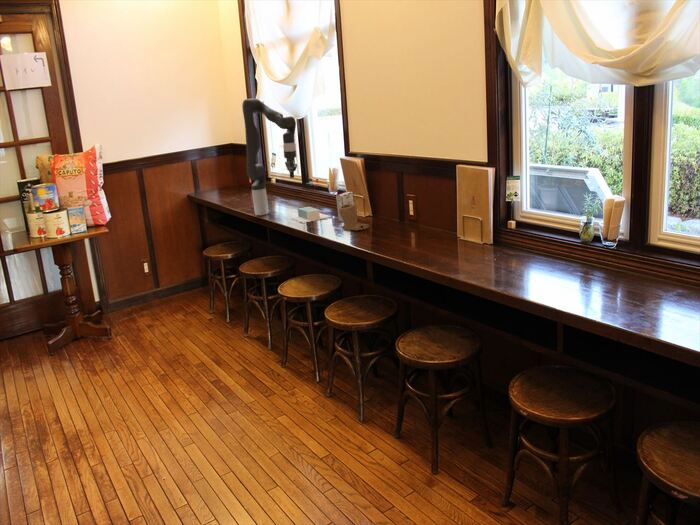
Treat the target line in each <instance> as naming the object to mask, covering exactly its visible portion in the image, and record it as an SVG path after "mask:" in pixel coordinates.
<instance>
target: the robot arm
mask: <svg viewBox="0 0 700 525" xmlns="http://www.w3.org/2000/svg"><path fill="white" fill-rule="evenodd" d="M241 107H242V116H243V120H244V128H245V129H244V130H245V145H246V146H245V147H246V175H247V177H248V178H249V179H250V180H252V181H253V180H254V182H253V183H252V185H251V194H252V200H253V208H254V210H253V211H254V215H255V216H258V215H259V216H266V215H268V213H269V214H270V212H269V211H270V210H269V203H268V196H267V189H266V188H267V187H266V185H267V178H266V175H267V174H266V169H265V167H264V165H263V164H261V163H257V162H256V160H257V156H258V153H259V151H260V149H261V133H260V131H259V129H258V127H257V126H256V125H255V122H254V117H253V116H254V115H253V114H257V113H258V114H262V115H264V116H265V118H266V120H268V121H270V122H271V123H273V124H276V125H277V127H279V128H280V129H282V130H286V132H284V133H283V134H282V141H283V145H282V146H283V157H284V159H286V161H285V162H284V164H285V166H286V169H287V170H286V171H288V172H289V178H290V179H294V178H295V174H294V172H296V170H297V167H298V163H296V159H295V158H297V148H296V142H295V133H296V126H297V122H296V119H295V118H294V117H293V116H285V117H284V115H283V113H281V112H279V111H278V110H275V109H272V108H271V107H269V106H268V105H266V104H265V103H264V102H263V101H261V100H260V99H258V98H247V99H244V100H243V102H242V105H241ZM265 214H266V215H265Z"/></svg>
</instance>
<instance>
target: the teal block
mask: <svg viewBox="0 0 700 525" xmlns="http://www.w3.org/2000/svg"><path fill="white" fill-rule="evenodd" d="M297 213H298V217H302V218H305V219H308V220H309V219H314V218H319V217H320V215H319V213H320V208H319V209H318V208H315V207H313V206H305V207H300V208H297Z"/></svg>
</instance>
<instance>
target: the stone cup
mask: <svg viewBox="0 0 700 525" xmlns="http://www.w3.org/2000/svg"><path fill="white" fill-rule="evenodd" d="M357 208H358V207H357V205H356V204H355V203H354V204H353V203H352V204H345V205H342V206H340V207H339V213H340V216H341V218H342V219H343V222H342V223H343V225H342V226H341V228H340V229H342V230H348V231H358V230H362V229H364V230H366V229H368V228H369V227H370V225H369V224H368V223H360V222H358V209H357ZM362 231H363V230H362Z"/></svg>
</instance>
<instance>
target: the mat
mask: <svg viewBox="0 0 700 525" xmlns="http://www.w3.org/2000/svg"><path fill="white" fill-rule="evenodd" d="M319 215H320V217H319V218H314V219H309V220H308V219H305V218H302V217H299V216H296V217H291V218H290V220H292V219H293V221H295V220H296V221H295V222H297V221H299V222H298V223H300V222H302V223H301V224H306V223H305V222H308V223H311V221H313V222H317V221H321V220H320V219H322V220H326V219H325V218H327V219H330V218H329V217H331V218H332V216H330V215H328V214H324V213H321V212H319ZM316 220H317V221H316Z"/></svg>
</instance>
